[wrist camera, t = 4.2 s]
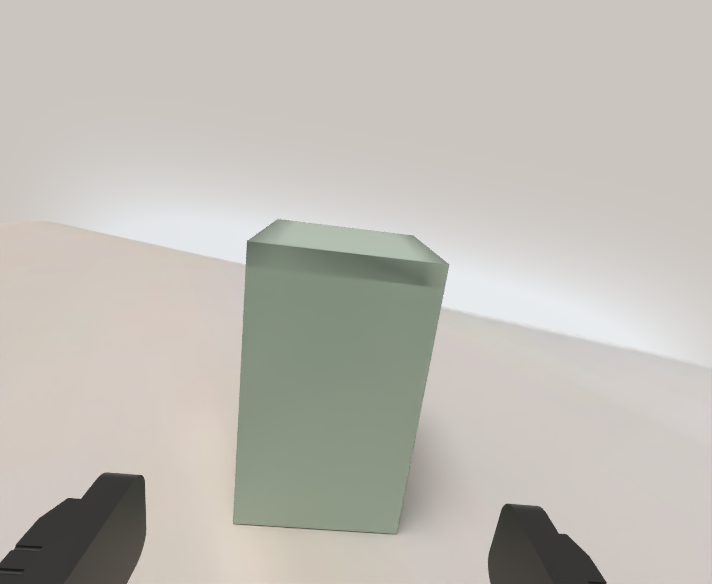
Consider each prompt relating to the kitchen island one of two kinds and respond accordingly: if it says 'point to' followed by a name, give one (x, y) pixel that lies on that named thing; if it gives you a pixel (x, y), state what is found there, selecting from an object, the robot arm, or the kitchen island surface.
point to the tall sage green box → (332, 374)
